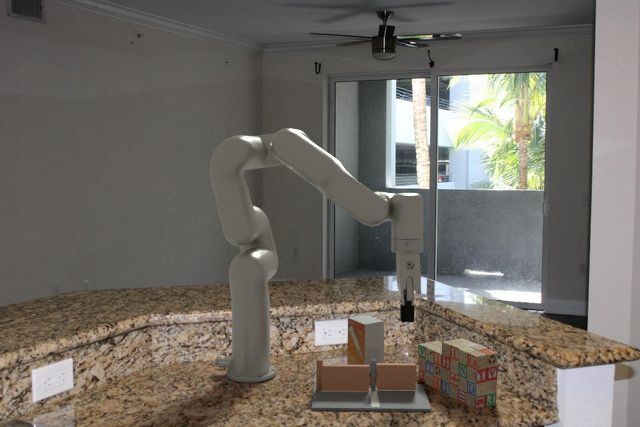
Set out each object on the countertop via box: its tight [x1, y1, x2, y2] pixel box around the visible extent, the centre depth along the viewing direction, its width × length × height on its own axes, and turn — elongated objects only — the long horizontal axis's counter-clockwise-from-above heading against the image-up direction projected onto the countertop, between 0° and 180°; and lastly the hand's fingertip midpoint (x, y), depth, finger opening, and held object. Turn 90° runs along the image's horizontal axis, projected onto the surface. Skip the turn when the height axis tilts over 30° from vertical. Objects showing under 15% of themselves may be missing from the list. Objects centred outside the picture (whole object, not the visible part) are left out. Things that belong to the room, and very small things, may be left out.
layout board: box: [311, 382, 432, 412], centre depth 150 cm, size 26×15×1 cm, turn 89°
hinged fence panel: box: [370, 359, 417, 391], centre depth 152 cm, size 10×1×7 cm, turn 89°
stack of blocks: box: [417, 337, 499, 411], centre depth 153 cm, size 21×6×12 cm, turn 27°
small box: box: [346, 314, 385, 374], centre depth 170 cm, size 8×6×13 cm
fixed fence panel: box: [315, 358, 370, 391], centre depth 152 cm, size 12×2×7 cm, turn 89°
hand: (407, 321), depth 156 cm, fingers closed
